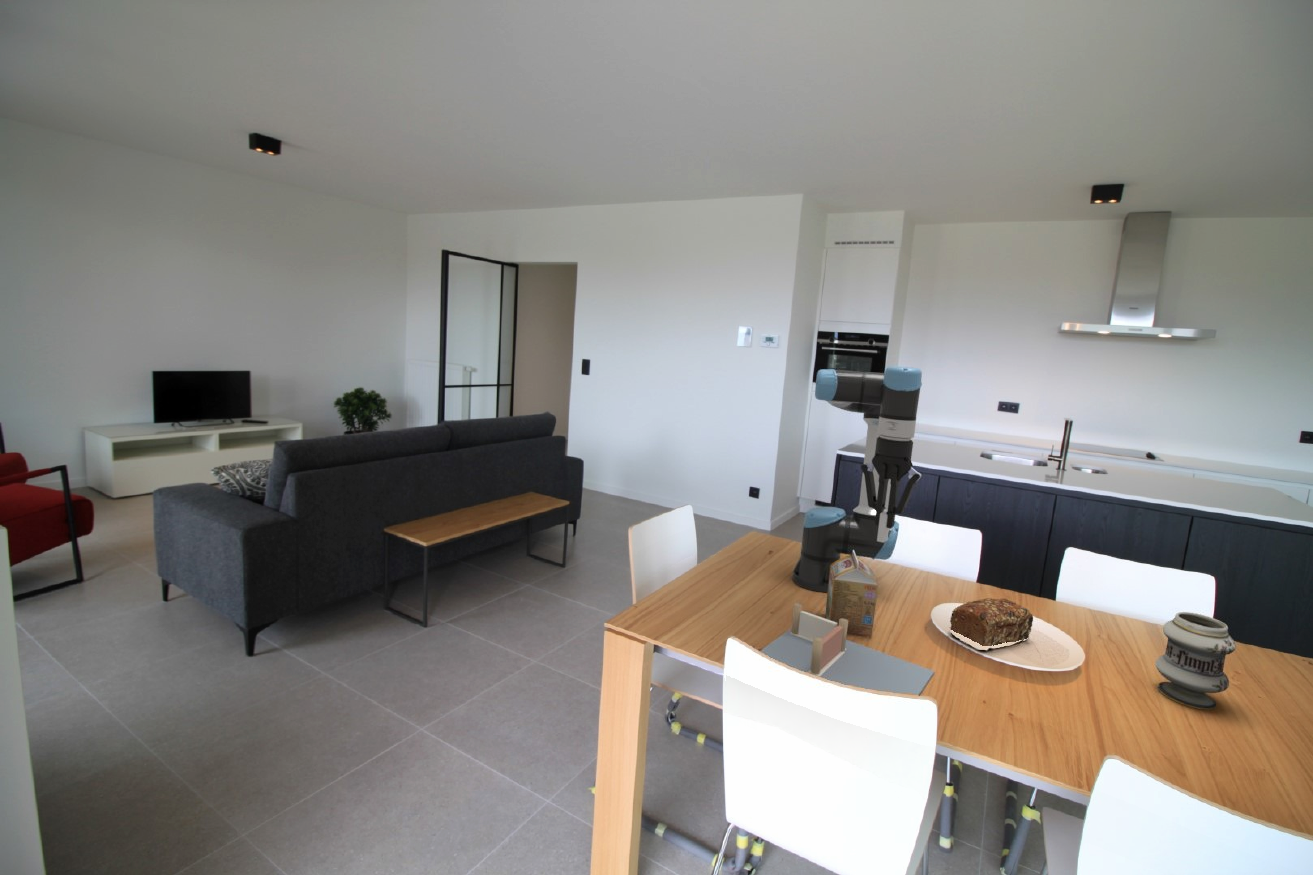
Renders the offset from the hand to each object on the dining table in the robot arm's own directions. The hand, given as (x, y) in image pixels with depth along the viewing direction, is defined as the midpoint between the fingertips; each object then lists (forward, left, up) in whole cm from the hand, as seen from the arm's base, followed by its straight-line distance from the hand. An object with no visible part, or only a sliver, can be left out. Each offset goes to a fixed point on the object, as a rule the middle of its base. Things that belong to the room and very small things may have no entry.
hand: (882, 540), depth 135 cm
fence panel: (+10, -6, -28) cm, 30 cm away
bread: (-34, +20, -29) cm, 49 cm away
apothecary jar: (-35, +58, -29) cm, 74 cm away
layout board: (+7, -3, -29) cm, 30 cm away
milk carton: (-13, -10, -29) cm, 33 cm away
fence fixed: (+2, -12, -28) cm, 31 cm away
